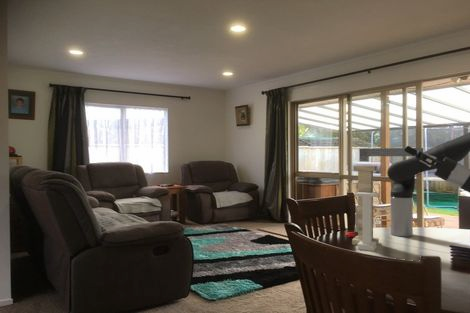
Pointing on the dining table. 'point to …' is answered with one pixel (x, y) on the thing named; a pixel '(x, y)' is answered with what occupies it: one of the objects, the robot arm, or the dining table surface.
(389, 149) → the hook bar
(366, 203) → the rest post
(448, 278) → the dining table surface
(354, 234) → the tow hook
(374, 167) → the tall stand
